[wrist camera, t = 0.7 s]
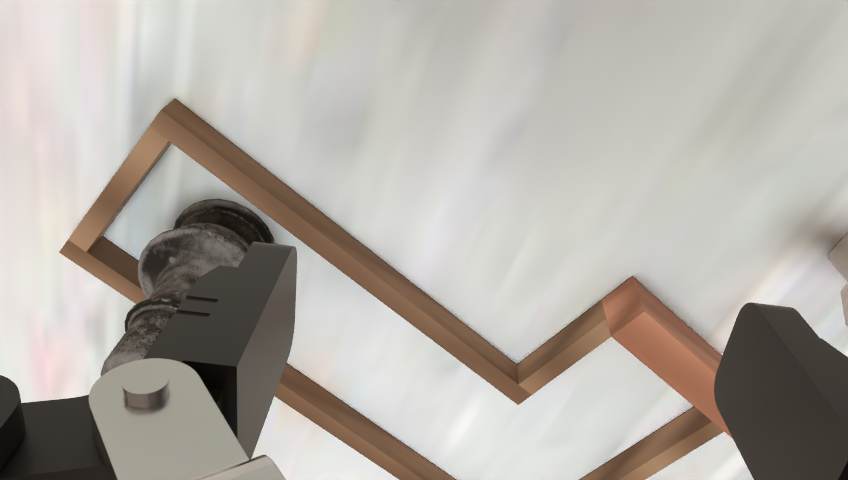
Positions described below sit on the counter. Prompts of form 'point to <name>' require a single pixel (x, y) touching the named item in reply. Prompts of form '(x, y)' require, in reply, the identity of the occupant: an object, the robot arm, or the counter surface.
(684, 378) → the track
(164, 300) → the salt shaker
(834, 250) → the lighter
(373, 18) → the counter surface
